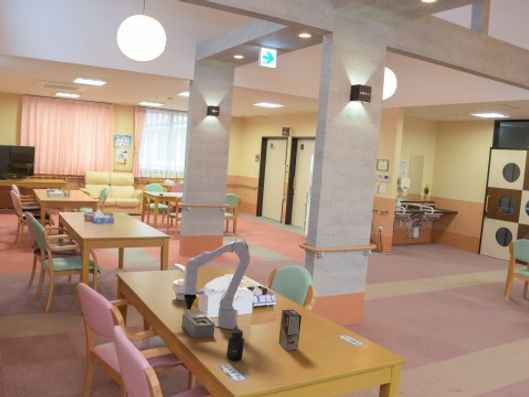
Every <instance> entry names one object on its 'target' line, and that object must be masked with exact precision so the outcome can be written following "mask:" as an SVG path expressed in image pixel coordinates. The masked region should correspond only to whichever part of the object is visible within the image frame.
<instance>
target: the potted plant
mask: <svg viewBox="0 0 529 397" xmlns="http://www.w3.org/2000/svg"><path fill="white" fill-rule="evenodd" d="M191 258H193V257H192V256H191V257H190V259H191ZM174 266H175V267H176V268H178V269H179V271H180V272H181V273H182V274H183V278H179V279H175V280H173V282H172V283H173V284H172V290H174V294H175V298H176V299H177V300H178V301H185V298H184V295H180V296H176V291H181V290H185V280H186V273H187V268H186V264H185V265H183V264H179V263H174Z"/></svg>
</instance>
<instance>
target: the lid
mask: <svg viewBox="0 0 529 397" xmlns="http://www.w3.org/2000/svg"><path fill="white" fill-rule="evenodd" d="M200 311H201V308H191V309H186V311H185V312H186V313H187V314H188V315H189V316H190V317H191V318H192V319H198V318H205V316H204V315H203V314H202V313H201V312H200Z"/></svg>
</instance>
